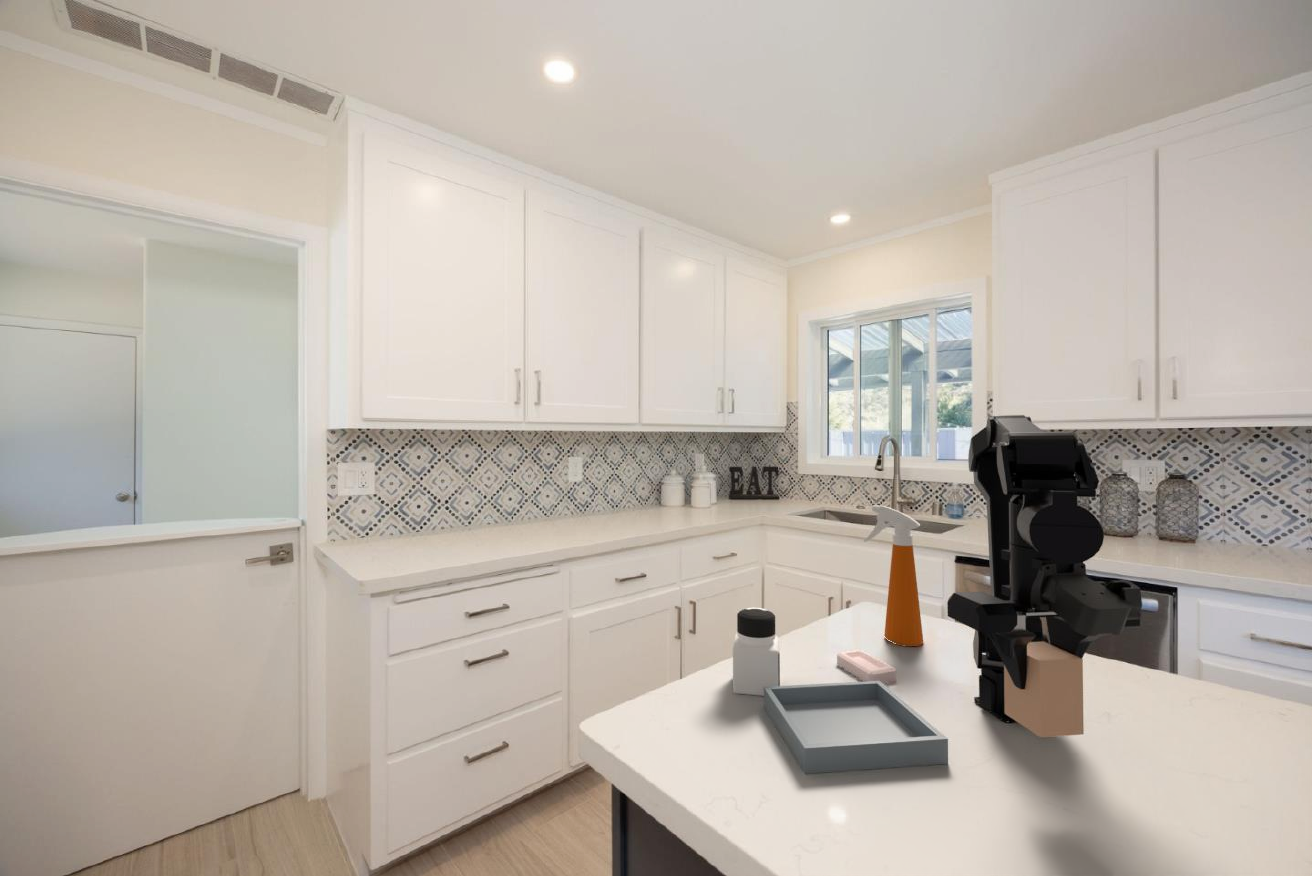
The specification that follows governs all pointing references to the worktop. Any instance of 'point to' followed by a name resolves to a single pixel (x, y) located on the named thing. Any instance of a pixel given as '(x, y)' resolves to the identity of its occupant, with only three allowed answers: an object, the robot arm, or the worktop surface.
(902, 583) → the spray bottle
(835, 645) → the worktop surface
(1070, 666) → the carton
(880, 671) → the soap bar
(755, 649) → the medicine bottle
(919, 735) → the tray
